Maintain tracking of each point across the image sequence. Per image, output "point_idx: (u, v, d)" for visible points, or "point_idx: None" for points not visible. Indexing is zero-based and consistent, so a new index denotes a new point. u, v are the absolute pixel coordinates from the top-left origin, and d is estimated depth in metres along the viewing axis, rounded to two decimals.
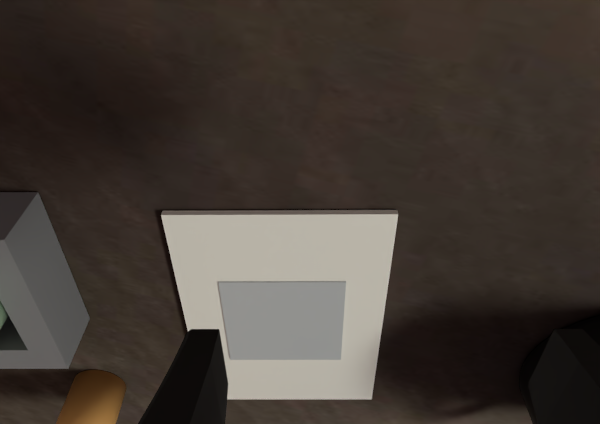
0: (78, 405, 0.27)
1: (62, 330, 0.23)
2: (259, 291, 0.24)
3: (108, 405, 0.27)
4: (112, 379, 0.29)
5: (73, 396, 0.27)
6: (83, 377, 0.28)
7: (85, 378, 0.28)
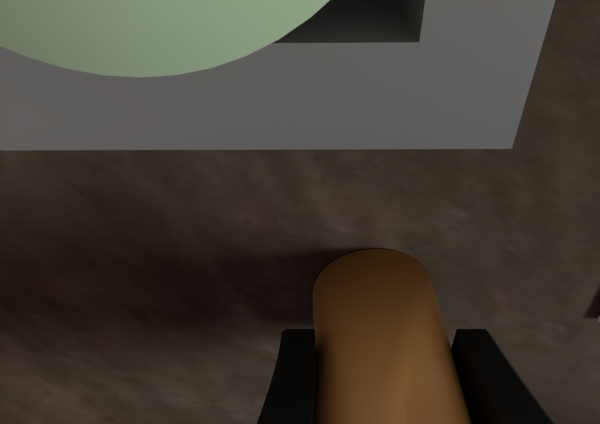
0: (385, 323, 0.10)
1: None
2: None
3: (443, 329, 0.11)
4: (422, 272, 0.12)
5: (355, 304, 0.11)
6: (358, 264, 0.11)
7: (366, 266, 0.11)
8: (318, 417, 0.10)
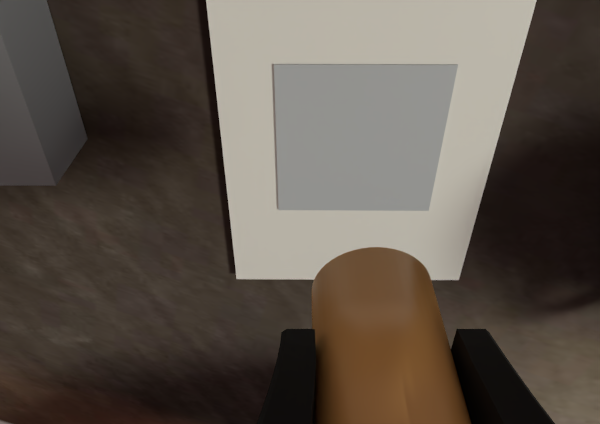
0: (387, 321, 0.10)
1: (47, 122, 0.16)
2: (330, 84, 0.17)
3: (443, 329, 0.11)
4: (422, 272, 0.12)
5: (356, 302, 0.11)
6: (359, 263, 0.11)
7: (367, 264, 0.11)
8: (318, 415, 0.10)
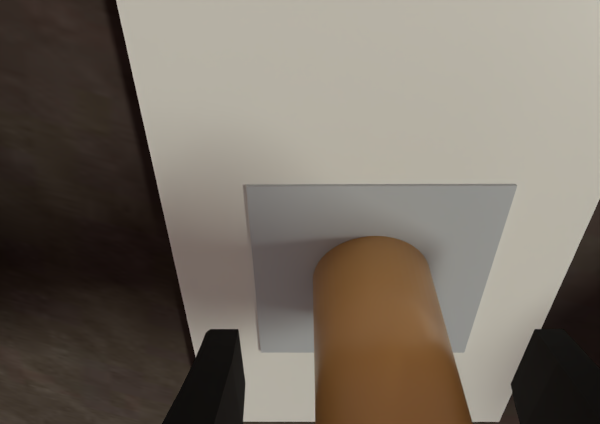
0: (386, 306, 0.10)
1: None
2: (329, 209, 0.12)
3: (440, 314, 0.11)
4: (421, 260, 0.12)
5: (356, 288, 0.11)
6: (359, 251, 0.12)
7: (367, 252, 0.12)
8: (318, 395, 0.10)
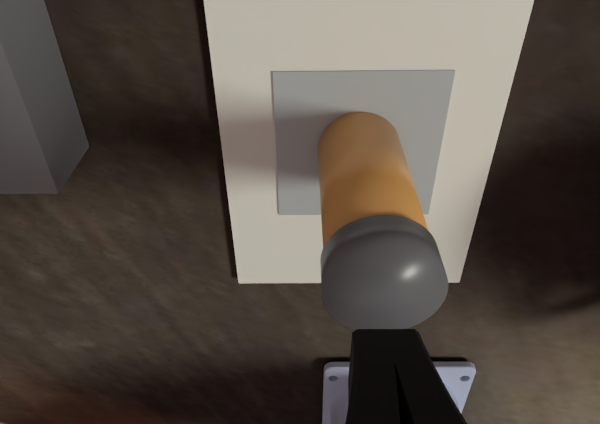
0: (366, 145, 0.16)
1: (49, 132, 0.16)
2: (328, 91, 0.17)
3: (404, 157, 0.16)
4: (392, 128, 0.17)
5: (347, 139, 0.16)
6: (349, 120, 0.17)
7: (355, 120, 0.17)
8: (323, 199, 0.15)
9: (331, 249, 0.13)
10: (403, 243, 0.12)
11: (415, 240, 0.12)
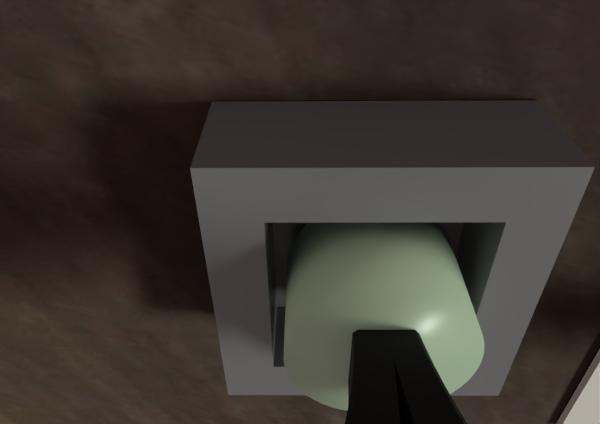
0: None
1: None
2: None
3: None
4: None
5: None
6: None
7: None
8: None
9: None
10: None
11: None
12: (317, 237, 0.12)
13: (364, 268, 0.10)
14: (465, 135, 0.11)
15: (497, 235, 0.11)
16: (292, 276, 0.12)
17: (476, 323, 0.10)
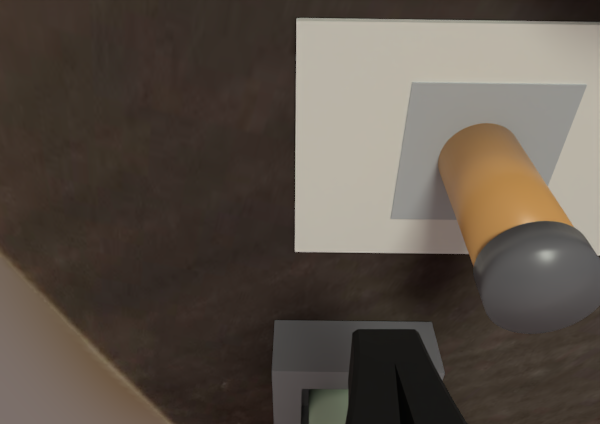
0: (450, 193, 0.17)
1: None
2: (414, 181, 0.20)
3: (475, 155, 0.17)
4: (458, 137, 0.18)
5: (448, 196, 0.18)
6: (441, 175, 0.19)
7: (441, 172, 0.19)
8: None
9: None
10: (488, 281, 0.13)
11: (492, 266, 0.13)
12: None
13: None
14: None
15: (312, 385, 0.24)
16: None
17: (330, 416, 0.24)
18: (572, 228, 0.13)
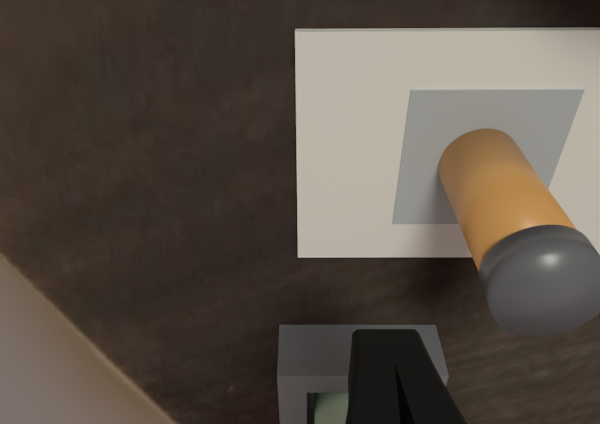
0: (452, 200, 0.17)
1: None
2: (415, 186, 0.20)
3: (474, 161, 0.17)
4: (456, 144, 0.18)
5: (450, 202, 0.18)
6: (441, 181, 0.19)
7: (441, 179, 0.19)
8: None
9: None
10: (494, 287, 0.14)
11: (497, 272, 0.14)
12: None
13: None
14: None
15: (317, 389, 0.24)
16: None
17: (336, 420, 0.24)
18: (574, 230, 0.14)
